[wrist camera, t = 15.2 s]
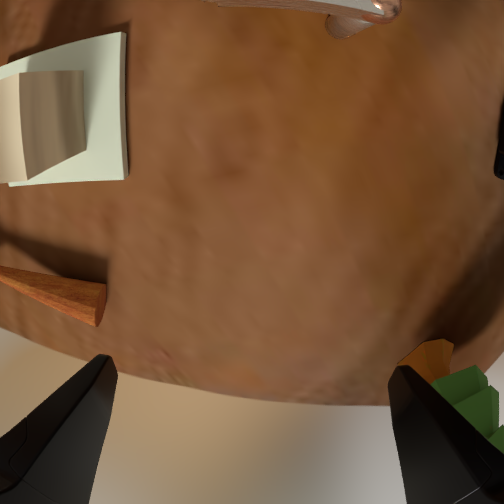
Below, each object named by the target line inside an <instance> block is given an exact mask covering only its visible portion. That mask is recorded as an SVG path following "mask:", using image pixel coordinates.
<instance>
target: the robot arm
mask: <svg viewBox="0 0 504 504" xmlns="http://www.w3.org/2000/svg"><path fill="white" fill-rule="evenodd" d="M500 170H501V171H500ZM499 172H500V173H499ZM494 174H495V176H496V177H498V178H500V179H503V180H504V113H503V121H502V128H501V135H500V141H499V147H498V153H497V158H496V163H495V168H494ZM117 379H118V374H117V370H116V367H115V364H114V362H113V359H112V357H111V356H109V355H104V354H99V355H97V356H96V357H94V358H93V359H92V360H91V361H90V362H89V363H87V364H86V365H85V366H84V367H83V368H82V369H80V370H79V371H78V372H77V373H76V374H75V375H73V376H72V377H71V378H70V379H69V380H67V381H66V382H65V383H64V384H63V385H62V386H61V387H59V388H58V389H57V390H56V391H55V392H54V393H53V394H51V395H50V396H49V397H48V398H47V399H46V400H44V401H43V402H42V403H41V404H40V405H39V406H38V407H36V408H35V409H34V410H33V411H32V412H31V413H30V414H29V415H27V418H26V417H25V418H24V419H23V420H21V422H19V423H18V424H17V425H16V426H14V427H13V428H12V429H11V430H10V431H9V432H7V433H6V434H4V435H3V436H2V437H1V438H0V504H89V500H90V495H91V491H92V486H93V482H94V478H95V474H96V469H97V465H98V462H99V458H100V454H101V450H102V446H103V443H104V439H105V436H106V432H107V429H108V425H109V421H110V417H111V412H112V406H113V401H114V394H115V389H116V384H117ZM388 392H389V400H390V408H391V417H392V426H393V431H394V436H395V440H396V446H397V451H398V456H399V460H400V466H401V471H402V477H403V483H404V488H405V495H406V501H407V504H504V453H502V452H501V451H500V450H499V449H498V448H496V447H495V446H494V445H493V444H492V443H491V442H489V441H488V440H487V439H486V438H485V437H484V436H483V435H482V434H481V433H480V432H479V431H478V430H476V428H475V427H474V426H473V425H472V424H471V423H470V422H469V421H468V420H467V419H466V418H464V417H463V416H462V415H461V414H460V413H459V412H458V411H457V410H456V409H455V408H454V407H453V406H452V405H451V404H450V403H449V402H448V401H447V400H446V399H445V398H444V397H443V396H442V395H441V394H440V393H438V392H437V391H436V390H435V389H434V388H433V387H432V386H431V385H430V384H429V383H428V382H427V381H426V380H425V379H424V378H423V377H422V376H420V375H419V374H418V373H417V372H416V371H415V370H414V369H413V368H412V367H411V366H409V365H399V366H397V367H396V368H395V370H394V372H393V374H392V376H391V378H390V379H389V382H388Z"/></svg>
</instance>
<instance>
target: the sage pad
mask: <svg viewBox="0 0 504 504" xmlns="http://www.w3.org/2000/svg"><path fill="white" fill-rule="evenodd" d="M125 52H126V33H123V32H117V33H111V34H106V35H102V36H97V37H92V38H88V39H84V40H80V41H76V42H72V43H69V44H65V45H61V46H58V47H55V48H51V49H48V50H45V51H42V52H39V53H36V54H33V55H30V56H27V57H25V58H22V59H19V60H17V61H14V62H11V63H9V64H6V65H4V66H2V67H0V80H1V79H3V78H6V77H9V76H11V75H14V74H17V73H23V72H37V71H65V70H84V76H83V85H84V120H85V137H86V151H84V152H81V153H79V154H77V155H75V156H73V157H71V158H69V159H67V160H65V161H63V162H61V163H59V164H57V165H55V166H53V167H51V168H49V169H48V170H46V171H44V172H42V173H40V174H38V175H36V176H35V177H33V178H31V179H29V180H28V181H18V182H9V187H11V186H21V185H33V184H45V183H60V182H77V181H98V180H124V179H125V178H127V177H128V176H129V174H128V160H127V144H126V121H125Z"/></svg>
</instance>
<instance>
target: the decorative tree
mask: <svg viewBox="0 0 504 504" xmlns="http://www.w3.org/2000/svg"><path fill="white" fill-rule="evenodd" d="M453 347H454V344H453V343H451V342H449V341H447V340H445V339H438V340H432V341H427V342H423V343H422V344H420V345H419V346H418V347H417V348H416V349H415V350H414V351H412V352H411V353H410V354H409V355H408V356H406V357H405V358H404V359H403V360H402V361H400V362H399V363H398V365H409V366H411V367H412V368H413V369H414V370H415V371H416V372H417V373H418V374H419V375H420V376H422V377H423V378H424V379H425V380H426V381H427V382H428V383H429V384H430V385H431V386H432V387H433V388H434V389H435V390H436V391H437V392H438V393H440V394H441V395H442V396H443V397H444V398H445V399H446V400H447V401H448V402H449V403H450V404H451V405H452V406H453V407H454V408H455V409H456V410H457V411H458V412H459V413H460V414H461V415H462V416H463V417H464V418H466V419H467V420H468V421H469V422H470V423H471V424H472V425H473V426H474V427H475V428H476V430H478V431H479V432H480V433H481V434H482V435H483V436H484V437H485V438H486V439H487V440H488V441H489V442H491V443H492V444H493V445H494V446H495V447H496V448H498V449H499V450H500V451H501V452H502V453H504V426H503V425H502V426H500V427H499V392H498V391H497V390H495V389H494V388H493V387H492V386H491V385H490V386H488V380H487V377H486V376H485V375H484V373H483V372H482V371H481V370H480V369H479V368H478V367H477V366H476V365H474V366H472V367H469V368H467V369H464V370H461V371H459V372H456V373H453V374H451V375H450V369H449V364H450V360H451V356H452V352H453Z"/></svg>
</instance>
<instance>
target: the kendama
mask: <svg viewBox="0 0 504 504" xmlns="http://www.w3.org/2000/svg"><path fill="white" fill-rule="evenodd" d="M0 281H1V282H3V283H5V284H7V285H9V286H11V287H13V288H14V289H16V290H18V291H20V292H22V293H24V294H26V295H28V296H30V297H32V298H34V299H36V300H38V301H40V302H42V303H44V304H46V305H48V306H50V307H52V308H55V309H57V310H59V311H61V312H63V313H65V314H68V315H70V316H72V317H74V318H77V319H79V320H81V321H84V322H86V323H88V324H91V325H93V326H95V327H98V326H99V324H100V322H101V320H102V317H103V314H104V310H105V306H106V292H107V285H106V284H101V283H95V282H88V281H82V280H76V279H70V278H64V277H58V276H52V275H47V274H41V273H36V272H30V271H25V270H20V269H14V268H9V267H4V266H0Z"/></svg>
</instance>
